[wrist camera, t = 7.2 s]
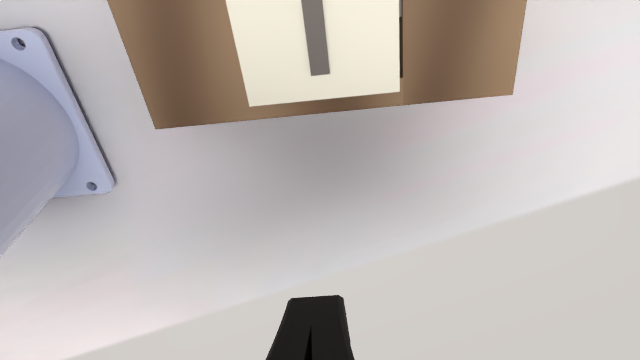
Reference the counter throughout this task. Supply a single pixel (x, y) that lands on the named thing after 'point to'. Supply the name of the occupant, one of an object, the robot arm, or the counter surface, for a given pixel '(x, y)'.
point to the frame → (232, 103)
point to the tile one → (316, 48)
